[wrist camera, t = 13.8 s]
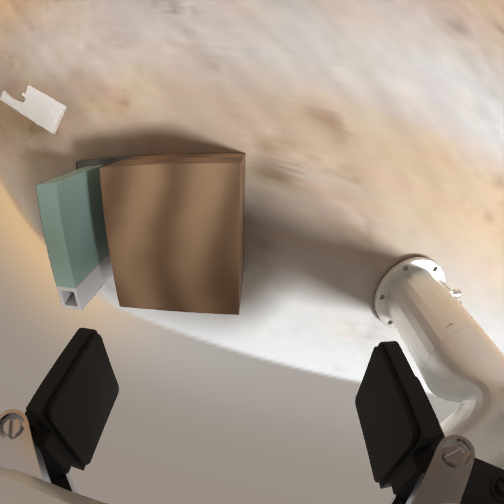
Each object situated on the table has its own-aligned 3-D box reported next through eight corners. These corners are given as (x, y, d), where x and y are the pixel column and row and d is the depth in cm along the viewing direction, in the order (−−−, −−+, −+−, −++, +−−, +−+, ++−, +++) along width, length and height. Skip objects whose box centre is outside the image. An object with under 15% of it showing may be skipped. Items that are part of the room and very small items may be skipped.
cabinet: (245, 153, 36) (240, 163, 27) (243, 272, 42) (238, 314, 33) (79, 160, 36) (35, 174, 27) (93, 265, 42) (61, 299, 33)
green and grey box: (104, 164, 35) (56, 182, 25) (116, 268, 41) (82, 310, 31) (85, 166, 35) (36, 184, 25) (99, 267, 41) (63, 307, 31)
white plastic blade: (14, 71, 30) (10, 71, 29) (70, 103, 33) (66, 103, 32) (2, 99, 31) (-2, 99, 30) (56, 134, 35) (52, 135, 34)
